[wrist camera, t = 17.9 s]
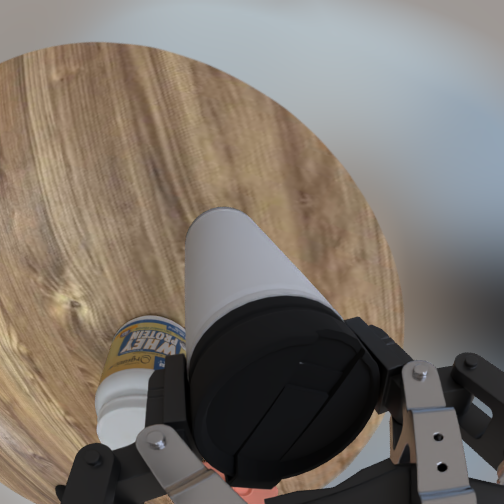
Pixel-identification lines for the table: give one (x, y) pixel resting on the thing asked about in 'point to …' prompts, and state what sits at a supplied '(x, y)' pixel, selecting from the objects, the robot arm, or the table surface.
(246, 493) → the teapot
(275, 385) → the travel mug
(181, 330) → the supplement tub
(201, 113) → the table surface
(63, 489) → the computer mouse
